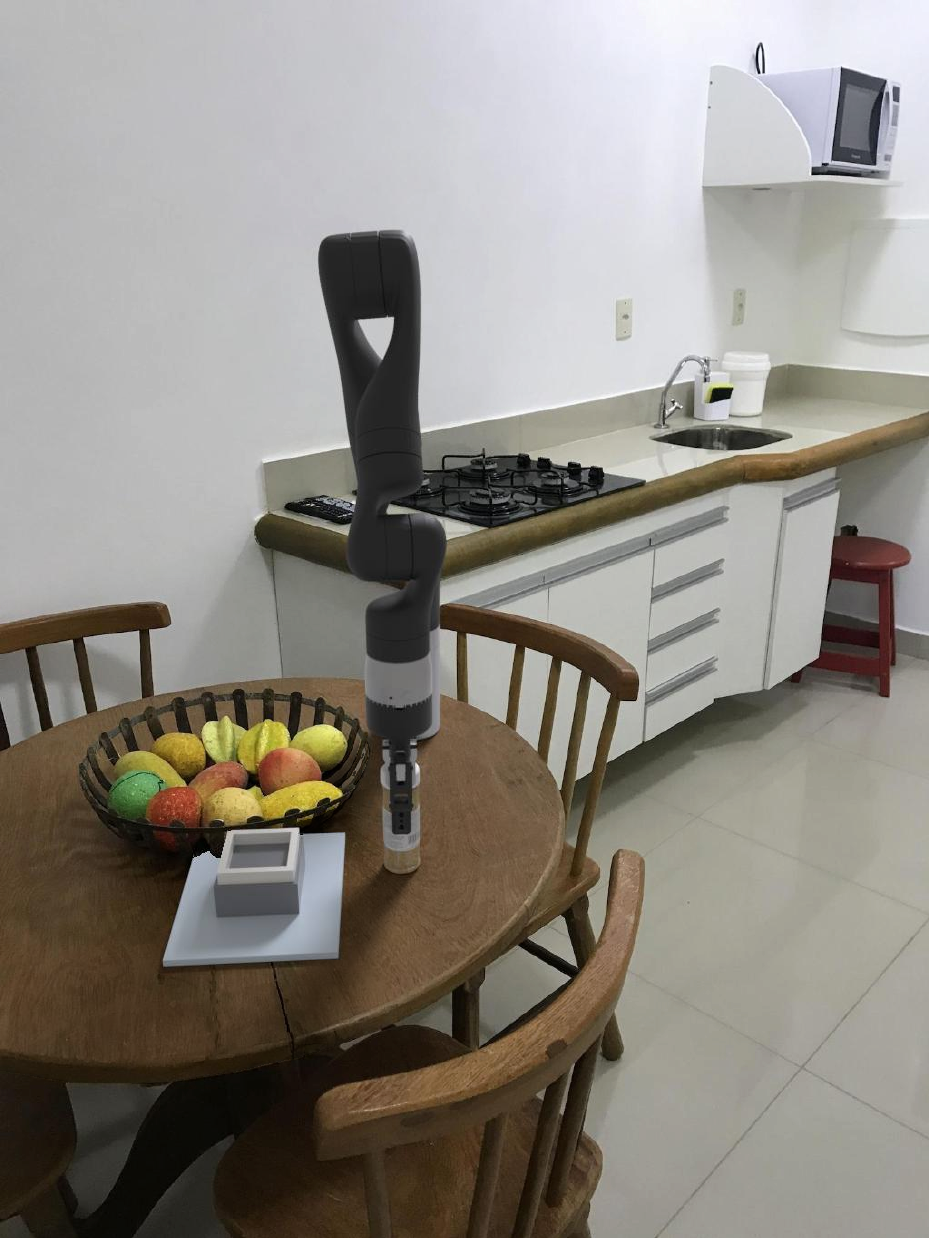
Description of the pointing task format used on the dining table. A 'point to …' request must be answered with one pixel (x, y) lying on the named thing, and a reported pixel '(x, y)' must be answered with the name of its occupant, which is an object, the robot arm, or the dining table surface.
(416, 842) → the sprinkles bottle
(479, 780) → the dining table surface
